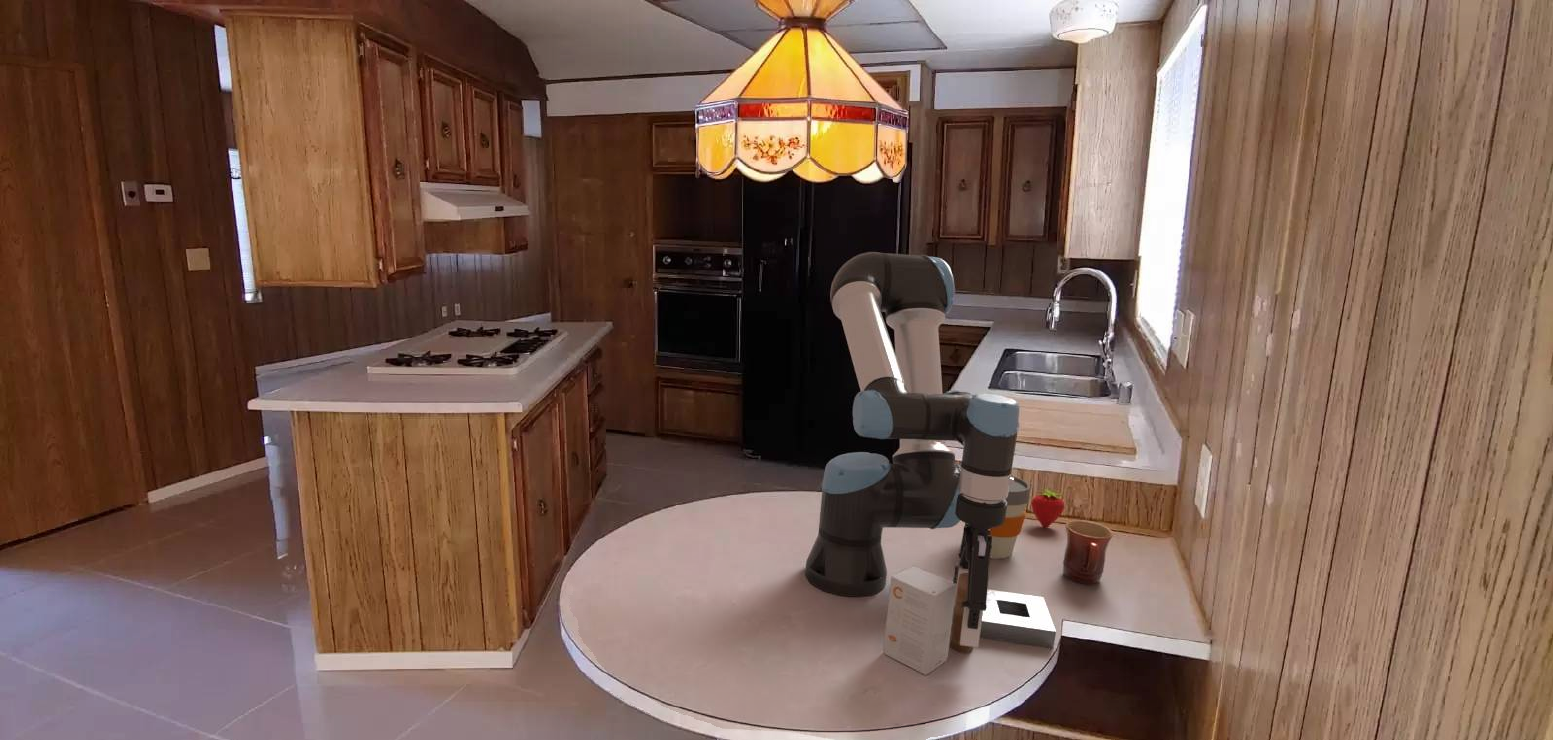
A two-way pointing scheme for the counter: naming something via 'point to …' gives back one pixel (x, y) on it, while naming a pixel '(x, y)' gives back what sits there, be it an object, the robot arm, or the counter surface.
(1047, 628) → the square hole fixture
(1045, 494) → the strawberry
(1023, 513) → the reusable coffee cup
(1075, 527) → the mug
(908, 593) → the small box
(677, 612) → the counter surface
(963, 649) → the wooden cylinder
